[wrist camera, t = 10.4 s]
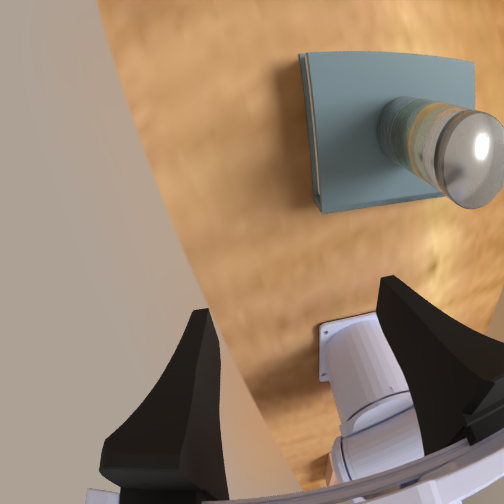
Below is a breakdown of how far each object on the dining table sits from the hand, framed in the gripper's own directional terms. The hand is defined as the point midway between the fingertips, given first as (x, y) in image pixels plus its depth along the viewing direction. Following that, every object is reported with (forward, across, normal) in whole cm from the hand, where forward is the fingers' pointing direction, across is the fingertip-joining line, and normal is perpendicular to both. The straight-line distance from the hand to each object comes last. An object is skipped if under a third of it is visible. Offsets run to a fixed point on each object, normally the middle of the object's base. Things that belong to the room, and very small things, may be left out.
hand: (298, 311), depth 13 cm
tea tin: (+8, -9, -5) cm, 13 cm away
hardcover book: (+11, -9, -5) cm, 15 cm away
